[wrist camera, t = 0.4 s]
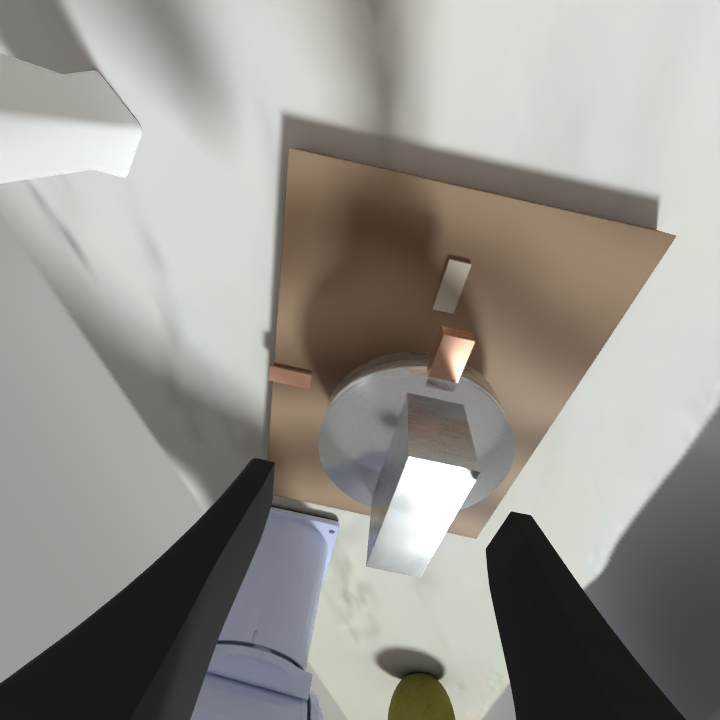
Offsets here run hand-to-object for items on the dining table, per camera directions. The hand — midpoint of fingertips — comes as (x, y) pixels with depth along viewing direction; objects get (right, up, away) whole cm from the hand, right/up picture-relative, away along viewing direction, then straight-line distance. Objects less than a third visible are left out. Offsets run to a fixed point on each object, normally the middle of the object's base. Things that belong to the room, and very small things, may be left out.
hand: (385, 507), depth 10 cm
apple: (+7, -36, +33) cm, 49 cm away
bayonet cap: (+2, +2, +7) cm, 7 cm away
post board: (+2, +3, +10) cm, 11 cm away
